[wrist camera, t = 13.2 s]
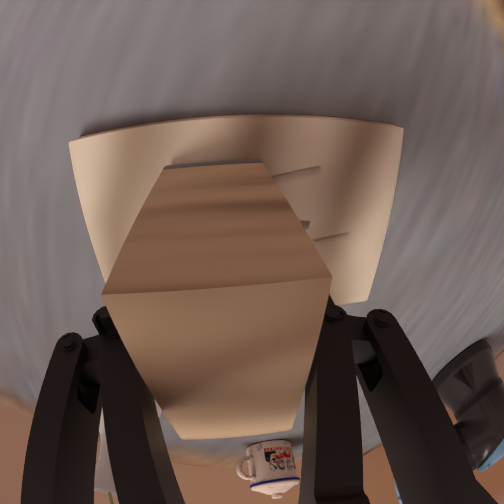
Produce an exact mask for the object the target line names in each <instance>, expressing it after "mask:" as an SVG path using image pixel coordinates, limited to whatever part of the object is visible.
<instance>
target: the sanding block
mask: <svg viewBox="0 0 504 504" xmlns="http://www.w3.org/2000/svg"><path fill="white" fill-rule="evenodd" d="M332 278H333V277H332V275H331V273H330V271H329V270H328V268H327V266H326V264H325V263H324V261H323V259H322V257H321V256H320V254H319V252H318V251H317V249H316V247H315V245H314V244H313V242H312V240H311V239H310V237H309V235H308V234H307V232H306V230H305V229H304V227H303V225H302V224H301V222H300V221H299V219H298V217H297V216H296V214H295V212H294V211H293V209H292V208H291V206H290V204H289V203H288V201H287V200H286V198H285V196H284V195H283V193H282V192H281V190H280V189H279V187H278V185H277V184H276V182H275V181H274V179H273V178H272V176H271V175H270V173H269V172H268V170H267V168H266V167H265V165H264V164H263V162H262V161H261V159H247V160H227V161H212V162H199V163H187V164H177V165H168V166H165V167H164V168H163V170H162V172H161V173H160V175H159V177H158V179H157V180H156V182H155V184H154V186H153V187H152V189H151V191H150V193H149V195H148V197H147V198H146V200H145V202H144V204H143V206H142V208H141V210H140V212H139V213H138V215H137V217H136V219H135V221H134V223H133V225H132V227H131V229H130V231H129V233H128V235H127V237H126V240H125V242H124V244H123V246H122V248H121V250H120V252H119V255H118V257H117V259H116V261H115V263H114V266H113V268H112V270H111V273H110V275H109V277H108V280H107V282H106V284H105V287H104V289H103V292H102V294H101V295H102V298H103V300H104V302H105V305H106V307H107V309H108V312H109V314H110V316H111V318H112V320H113V323H114V325H115V327H116V329H117V331H118V333H119V335H120V337H121V339H122V341H123V343H124V345H125V347H126V349H127V351H128V353H129V355H130V357H131V359H132V360H133V362H134V364H135V366H136V368H137V370H138V371H139V373H140V375H141V377H142V378H143V380H144V382H145V384H146V385H147V387H148V389H149V390H150V392H151V394H152V395H153V397H154V399H155V400H156V402H157V403H158V405H159V406H160V408H161V410H162V411H163V413H164V414H165V416H166V417H167V419H168V420H169V422H170V423H171V425H172V426H173V427H174V429H175V430H176V432H177V433H178V435H179V436H180V437H181V439H212V438H228V437H240V436H250V435H259V434H266V433H273V432H280V431H286V430H291V429H292V426H293V423H294V420H295V417H296V414H297V411H298V408H299V405H300V402H301V399H302V395H303V392H304V389H305V386H306V382H307V379H308V375H309V372H310V368H311V365H312V361H313V358H314V354H315V350H316V346H317V343H318V339H319V335H320V331H321V327H322V323H323V318H324V314H325V310H326V305H327V301H328V297H329V292H330V287H331V282H332Z"/></svg>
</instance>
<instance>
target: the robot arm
mask: <svg viewBox="0 0 504 504" xmlns="http://www.w3.org/2000/svg"><path fill="white" fill-rule="evenodd" d="M92 321H93V323H94V325H95V327H96V329H97V331H98V333H99V335H96V336H93V337H90V338H86V339H82V337H81V336H80V335H79V334H78V333H74V332H72V333H67V334H65V335H63V336H62V337H61V338H60V339H59V340H58V342H57V343H56V346H55V349H54V351H53V354H52V357H51V360H50V363H49V365H48V368H47V371H46V375H45V378H44V381H43V384H42V387H41V391H40V394H39V398H38V401H37V405H36V409H35V413H34V417H33V421H32V426H31V430H30V435H29V440H28V445H27V451H26V457H25V464H24V471H23V481H22V491H21V504H94V480H95V464H96V452H97V442H98V434H99V426H100V418H101V412H102V409H103V419H104V427H105V435H106V442H107V448H108V454H109V460H110V465H111V470H112V475H113V480H114V484H115V489H116V493H117V497H118V501H119V504H185V502H184V499H183V497H182V494H181V492H180V488H179V486H178V483H177V480H176V477H175V474H174V471H173V468H172V464H171V461H170V458H169V454H168V451H167V448H166V444H165V440H164V437H163V433H162V429H161V425H160V421H159V417H158V413H157V408H156V404H155V400H154V397H153V395H152V394H151V392H150V390H149V389H148V387H147V385H146V384H145V382H144V380H143V378H142V377H141V375H140V373H139V371H138V370H137V368H136V366H135V364H134V362H133V360H132V359H131V357H130V355H129V353H128V351H127V349H126V347H125V345H124V343H123V341H122V339H121V337H120V335H119V333H118V331H117V329H116V327H115V325H114V323H113V320H112V318H111V316H110V314H109V312H108V309H107V307H106V306H104V307H102V308H100V309H99V310H97V311H96V313H95V314H94V315H93V318H92ZM356 375H357V378H358V380H359V383H360V385H361V388H362V390H363V393H364V395H365V398H366V400H367V403H368V406H369V408H370V411H371V414H372V416H373V419H374V422H375V424H376V427H377V430H378V432H379V435H380V438H381V441H382V444H383V446H384V449H385V452H386V455H387V458H388V461H389V464H390V467H391V470H392V473H393V476H394V482H395V489H396V494H397V496H398V500H399V502H400V504H498V503H497V502H496V501H495V500H494V499H493V498H492V496H491V495H490V494H489V493H488V492H487V491H486V490H485V489H484V488H483V487H482V485H481V484H480V483H479V482H478V481H477V480H476V479H475V476H474V474H473V470H475V469H476V468H477V470H478V471H480V472H482V471H485V470H486V469H488V468H489V467H490V466H491V465H493V464H494V463H496V462H497V461H498V460H499V459H500V458H502V457H503V456H504V383H503V381H502V380H501V378H500V376H499V374H498V371H497V367H496V363H495V360H494V356H493V354H492V348H491V347H490V345H489V344H488V342H487V341H486V340H481V341H479V342H477V343H475V344H473V345H472V346H470V347H469V348H467V349H466V350H465V351H463V352H462V353H461V354H459V355H458V356H457V357H456V358H455V359H453V360H452V361H451V362H450V363H449V364H448V365H447V366H446V367H445V368H444V369H443V370H442V371H441V372H440V373H439V374H438V375H437V376H436V377H435V379H434V380H433V381H431V379H430V377H429V375H428V373H427V372H426V370H425V368H424V366H423V364H422V362H421V361H420V359H419V357H418V355H417V354H416V352H415V350H414V348H413V347H412V345H411V343H410V341H409V340H408V338H407V336H406V335H405V333H404V331H403V330H402V328H401V326H400V325H399V323H398V321H397V320H396V318H395V317H394V316H393V315H392V314H391V313H390V312H388V311H386V310H382V309H374V310H372V311H370V312H369V313H368V314H367V317H357V316H350V315H347V314H346V312H345V311H344V310H343V309H342V308H341V307H339V306H337V305H335V304H334V302H333V300H332V298H331V296H330V294H329V297H328V301H327V305H326V310H325V314H324V318H323V323H322V327H321V331H320V335H319V339H318V343H317V346H316V350H315V354H314V358H313V361H312V365H311V368H310V372H309V375H308V379H307V382H306V386H305V414H304V437H303V455H302V470H301V483H300V494H299V503H298V504H370V502H369V499H368V497H367V496H366V494H365V493H364V490H363V457H362V436H361V421H360V409H359V398H358V388H357V379H356ZM443 403H444V404H445V405H446V406H447V407H448V408H449V409H450V410H451V411H452V412H453V414H454V416H455V418H456V420H457V424H455V425H453V423H452V421H451V419H450V417H449V415H448V413H447V411H446V409H445V406H444V404H443Z"/></svg>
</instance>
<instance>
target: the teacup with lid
mask: <svg viewBox="0 0 504 504" xmlns="http://www.w3.org/2000/svg"><path fill="white" fill-rule="evenodd" d="M246 454H247V456H244V457H242V458H241V459H240V460H239V461H238V462H237V465H236V471H237V474H238V475H239V476H240V477H241V478H243V479H246V480H250V481H251V485H250V487H251V489H252V490H253V491H258V492H262V493H264V494H268V495H272V498H273V499H277V498H282V497H283V494H282V493H284V492H286V491H288V490H289V489H290V488H291V487H292V486H294V485H296V484H298V483H299V480H300V478H298V475H297V470H296V466H295V461H294V457H293V452H292V448H291V444H290V442H289V441H286V440H270V441H264V442H260V443H256V444H253V445H251V446H249V447H248V448H247V449H246ZM244 460H247V461H248V468H249V474H250V476H247V475H245V474H244V473H243V471H242V464H243V462H244Z"/></svg>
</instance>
